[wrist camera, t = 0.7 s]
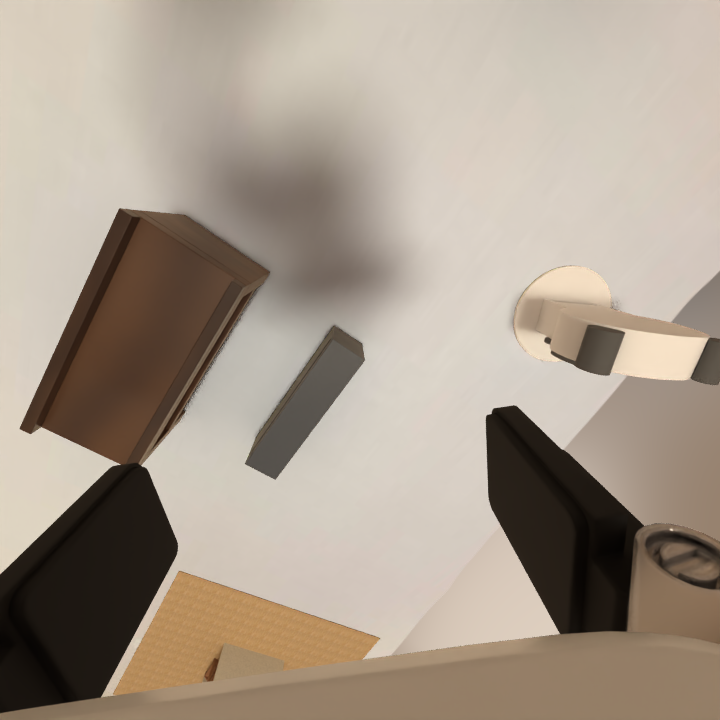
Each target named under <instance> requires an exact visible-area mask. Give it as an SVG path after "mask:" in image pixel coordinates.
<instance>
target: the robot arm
mask: <svg viewBox="0 0 720 720" xmlns="http://www.w3.org/2000/svg"><path fill="white" fill-rule="evenodd" d="M486 439H487V469H488V496H489V502H490V505H491V508H492V510H493V512H494V514H495V516H496V517H497V519H498V521H499V523H500V525H501V527H502V528H503V530H504V532H505V534H506V536H507V538H508V539H509V541H510V543H511V545H512V547H513V548H514V550H515V552H516V554H517V556H518V557H519V559H520V561H521V563H522V565H523V567H524V569H525V571H526V572H527V574H528V576H529V578H530V580H531V582H532V583H533V585H534V587H535V589H536V591H537V592H538V594H539V596H540V598H541V600H542V602H543V604H544V605H545V607H546V609H547V611H548V613H549V615H550V616H551V618H552V620H553V622H554V624H555V625H556V627H557V629H558V631H559V633H560V634H558V635H549V636H541V637H533V638H524V639H516V640H507V641H499V642H490V643H483V644H473V645H465V646H459V647H451V648H444V649H436V650H429V651H423V652H415V653H407V654H400V655H393V656H386V657H378V658H371V659H364V660H357V661H349V662H342V663H335V664H328V665H321V666H314V667H307V668H300V669H293V670H286V671H279V672H272V673H265V674H258V675H251V676H244V677H237V678H230V679H223V680H217V681H210V682H203V683H196V684H189V685H182V686H175V687H168V688H162V689H155V690H148V691H142V692H135V693H128V694H122V695H115V696H109V697H102V698H101V696H102V694H103V692H104V690H105V689H106V687H107V685H108V683H109V681H110V679H111V677H112V675H113V674H114V672H115V670H116V668H117V666H118V664H119V662H120V660H121V659H122V657H123V655H124V653H125V651H126V649H127V647H128V645H129V644H130V642H131V640H132V638H133V636H134V634H135V632H136V631H137V629H138V627H139V625H140V623H141V621H142V619H143V617H144V616H145V614H146V612H147V610H148V608H149V606H150V604H151V602H152V601H153V599H154V597H155V595H156V593H157V591H158V589H159V587H160V586H161V584H162V582H163V580H164V578H165V576H166V574H167V572H168V571H169V569H170V567H171V565H172V563H173V561H174V559H175V557H176V555H177V551H178V543H177V540H176V538H175V535H174V533H173V530H172V528H171V525H170V523H169V521H168V518H167V516H166V513H165V511H164V508H163V506H162V504H161V501H160V499H159V496H158V494H157V491H156V489H155V487H154V484H153V482H152V479H151V477H150V474H149V472H148V470H147V469H146V468H145V467H142V466H141V465H140V464H138V463H130V464H123V465H117V466H112V467H111V468H110V469H109V470H107V471H106V472H105V473H104V474H103V475H102V476H101V477H100V478H99V479H98V480H97V481H96V482H95V483H94V484H93V485H92V486H91V487H90V488H89V489H88V490H87V491H86V492H85V493H84V494H83V495H82V496H81V497H80V498H79V499H78V500H77V501H76V502H75V503H73V504H72V505H71V506H70V507H69V508H68V509H67V510H66V511H65V512H64V513H63V514H62V515H61V516H60V517H59V518H58V519H57V520H56V521H55V522H54V523H53V524H52V525H51V526H50V527H49V528H48V529H47V530H46V531H45V532H44V533H43V534H42V535H41V536H40V537H38V538H37V539H36V540H35V541H34V542H33V543H32V544H31V545H30V546H29V547H28V548H27V549H26V550H25V551H24V552H23V553H22V554H21V555H20V556H19V557H18V558H17V559H16V560H15V561H14V562H13V563H12V564H11V565H10V566H9V567H8V568H7V569H6V570H4V571H3V572H2V573H1V574H0V720H720V542H719V541H718V540H716V539H713V538H712V537H710V536H708V535H706V534H704V533H702V532H699V531H696V530H693V529H691V528H688V527H684V526H679V525H674V524H661V523H658V524H657V523H655V524H651V525H647V526H644V525H643V524H642V523H641V522H640V521H639V520H637V519H636V518H635V517H634V516H633V515H632V514H631V513H630V512H629V511H628V510H627V509H626V508H625V507H624V506H623V505H622V504H621V503H620V502H619V501H617V499H616V498H615V497H613V496H612V495H611V494H610V493H609V492H608V491H607V490H606V489H605V488H604V487H603V486H602V485H601V484H600V483H599V482H598V481H597V480H596V479H595V478H593V476H591V475H590V474H589V473H588V472H587V471H586V470H585V469H584V468H583V467H582V466H581V465H580V464H579V463H578V462H577V461H576V460H575V459H574V458H573V457H572V456H571V455H570V454H568V453H567V452H566V451H564V450H561V449H560V448H559V447H558V446H557V445H556V444H555V443H554V442H553V441H552V440H551V439H550V438H549V437H548V436H547V435H546V434H545V433H544V432H543V431H542V430H541V429H540V428H539V427H538V426H537V425H536V424H535V423H534V422H533V421H531V420H530V419H529V418H528V417H527V416H526V415H525V414H524V413H523V412H522V411H521V410H520V409H519V408H518V407H517V406H507V407H501V408H494V409H493V410H492V414H490V415H487V416H486Z"/></svg>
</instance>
